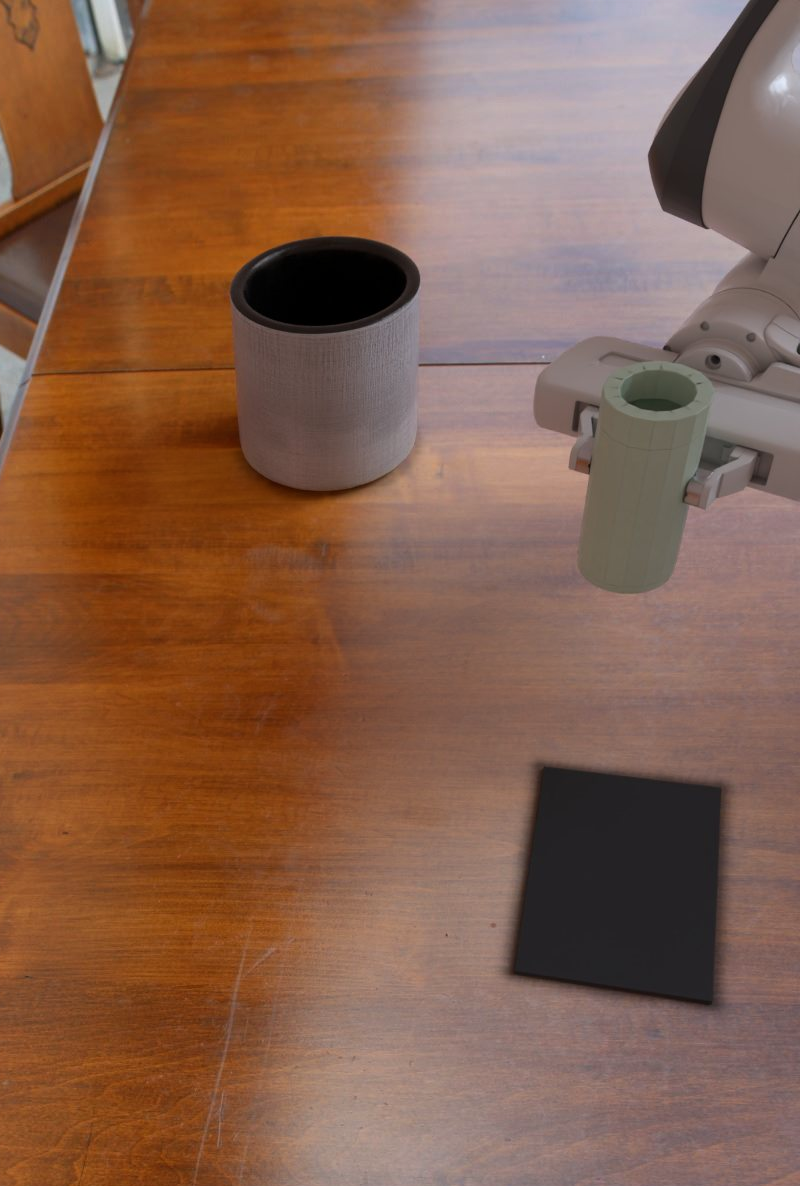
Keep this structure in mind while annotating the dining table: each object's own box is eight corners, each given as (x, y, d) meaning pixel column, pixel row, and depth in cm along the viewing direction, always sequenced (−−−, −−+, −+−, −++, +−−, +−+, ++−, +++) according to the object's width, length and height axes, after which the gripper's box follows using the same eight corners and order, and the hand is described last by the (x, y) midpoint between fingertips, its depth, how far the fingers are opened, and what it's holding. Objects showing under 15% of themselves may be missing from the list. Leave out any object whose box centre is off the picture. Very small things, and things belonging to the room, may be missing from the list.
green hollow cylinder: (694, 561, 90) (736, 386, 80) (633, 607, 88) (668, 433, 77) (617, 522, 93) (648, 349, 83) (557, 566, 91) (581, 393, 81)
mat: (543, 771, 95) (544, 766, 94) (719, 792, 92) (721, 787, 92) (512, 976, 85) (513, 970, 84) (710, 1007, 82) (712, 1001, 81)
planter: (309, 523, 115) (302, 356, 103) (207, 442, 124) (190, 279, 111) (453, 450, 119) (463, 282, 107) (345, 377, 128) (343, 213, 116)
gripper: (590, 293, 92) (494, 394, 86) (891, 365, 84) (808, 482, 78) (579, 377, 97) (487, 477, 91) (862, 452, 89) (782, 569, 82)
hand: (637, 480), depth 84 cm, fingers closed on green hollow cylinder, 6 cm apart
